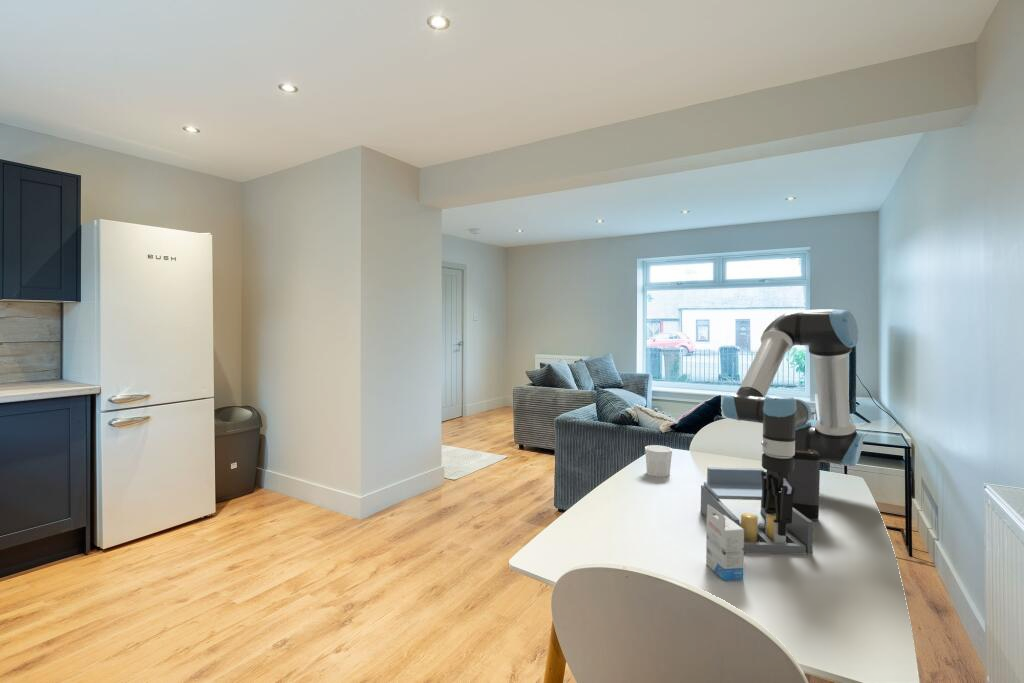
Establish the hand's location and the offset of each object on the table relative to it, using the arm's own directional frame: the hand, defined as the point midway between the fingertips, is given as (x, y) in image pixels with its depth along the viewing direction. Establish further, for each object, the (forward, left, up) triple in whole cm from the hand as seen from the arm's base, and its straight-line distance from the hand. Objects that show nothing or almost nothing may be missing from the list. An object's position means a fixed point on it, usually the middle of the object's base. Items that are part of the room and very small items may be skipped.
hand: (775, 542), depth 128 cm
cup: (+17, -58, 0) cm, 61 cm away
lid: (+3, -14, +8) cm, 17 cm away
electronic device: (-16, -19, 0) cm, 25 cm away
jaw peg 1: (+7, 0, 0) cm, 7 cm away
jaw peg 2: (0, 0, 0) cm, 0 cm away
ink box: (+19, +16, 0) cm, 25 cm away
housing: (+3, -7, 0) cm, 8 cm away
